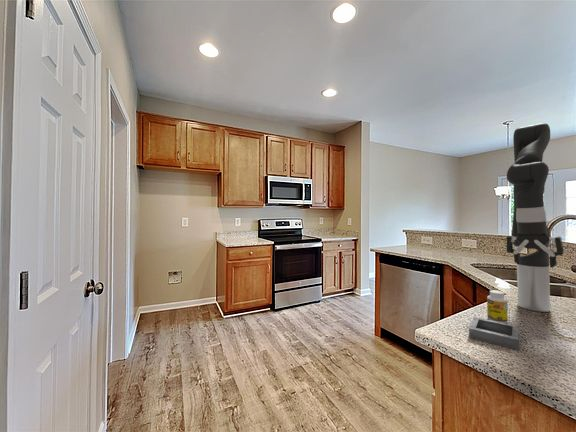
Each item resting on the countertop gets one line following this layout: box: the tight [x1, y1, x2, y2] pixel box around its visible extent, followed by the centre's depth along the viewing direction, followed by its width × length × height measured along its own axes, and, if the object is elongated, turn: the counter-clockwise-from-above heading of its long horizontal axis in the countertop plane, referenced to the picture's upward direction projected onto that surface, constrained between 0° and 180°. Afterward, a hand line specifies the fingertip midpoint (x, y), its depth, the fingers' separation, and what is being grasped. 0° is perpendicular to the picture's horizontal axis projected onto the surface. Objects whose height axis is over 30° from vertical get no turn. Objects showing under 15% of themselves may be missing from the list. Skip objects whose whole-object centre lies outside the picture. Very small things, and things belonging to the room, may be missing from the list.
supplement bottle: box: [486, 289, 509, 324], centre depth 89 cm, size 6×6×10 cm
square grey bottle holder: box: [468, 316, 521, 352], centre depth 78 cm, size 11×11×3 cm
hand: (534, 265), depth 89 cm, fingers open, 8 cm apart
